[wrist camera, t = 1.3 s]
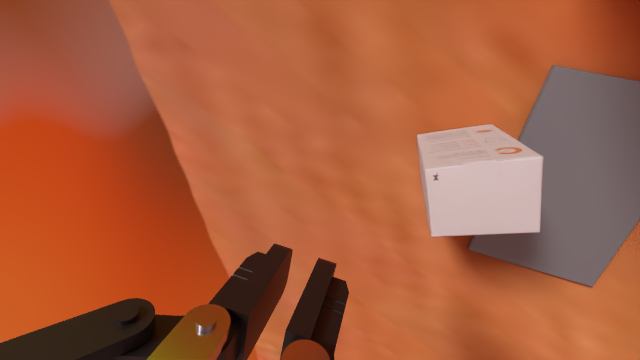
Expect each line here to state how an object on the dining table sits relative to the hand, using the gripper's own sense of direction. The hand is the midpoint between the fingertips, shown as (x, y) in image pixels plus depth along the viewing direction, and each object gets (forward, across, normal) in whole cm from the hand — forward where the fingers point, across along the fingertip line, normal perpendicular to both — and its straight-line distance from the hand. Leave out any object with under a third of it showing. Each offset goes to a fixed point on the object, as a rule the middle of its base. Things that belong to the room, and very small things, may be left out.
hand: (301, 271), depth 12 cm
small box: (+27, -10, 0) cm, 29 cm away
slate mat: (+27, -22, 0) cm, 35 cm away
